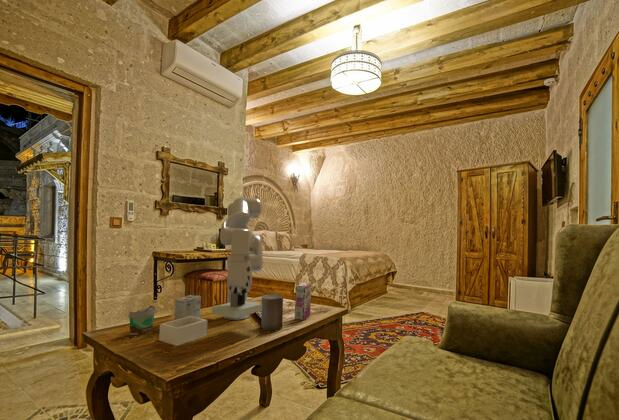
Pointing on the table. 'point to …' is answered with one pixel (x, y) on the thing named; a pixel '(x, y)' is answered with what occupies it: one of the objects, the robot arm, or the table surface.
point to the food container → (142, 321)
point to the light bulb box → (187, 307)
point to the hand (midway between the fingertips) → (238, 303)
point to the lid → (236, 307)
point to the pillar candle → (272, 312)
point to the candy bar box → (302, 301)
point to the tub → (183, 330)
